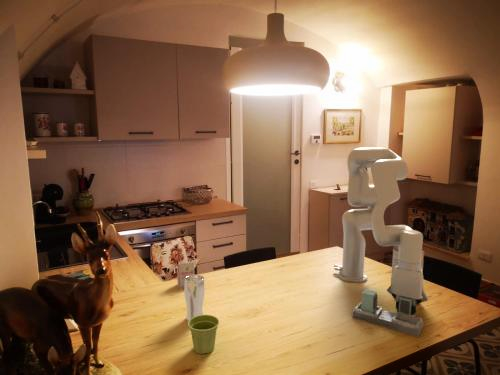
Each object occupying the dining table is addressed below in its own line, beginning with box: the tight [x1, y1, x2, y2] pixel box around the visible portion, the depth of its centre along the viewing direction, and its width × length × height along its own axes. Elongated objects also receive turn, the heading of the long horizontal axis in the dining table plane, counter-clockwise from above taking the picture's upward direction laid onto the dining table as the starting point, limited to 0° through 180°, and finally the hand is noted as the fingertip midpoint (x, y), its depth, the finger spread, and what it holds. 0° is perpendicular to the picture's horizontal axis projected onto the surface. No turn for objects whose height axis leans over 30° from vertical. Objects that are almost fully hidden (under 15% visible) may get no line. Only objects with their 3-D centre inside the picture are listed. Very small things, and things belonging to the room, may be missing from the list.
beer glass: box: [183, 274, 205, 322], centre depth 130 cm, size 7×7×15 cm
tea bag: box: [176, 261, 196, 289], centre depth 159 cm, size 4×7×10 cm, turn 110°
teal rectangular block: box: [360, 288, 379, 313], centre depth 133 cm, size 4×4×7 cm
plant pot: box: [187, 314, 220, 355], centre depth 113 cm, size 9×9×9 cm
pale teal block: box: [399, 296, 413, 315], centre depth 135 cm, size 4×4×7 cm
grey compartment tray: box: [351, 301, 424, 338], centre depth 130 cm, size 22×7×4 cm, turn 55°
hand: (405, 312), depth 136 cm, fingers closed on pale teal block, 4 cm apart
